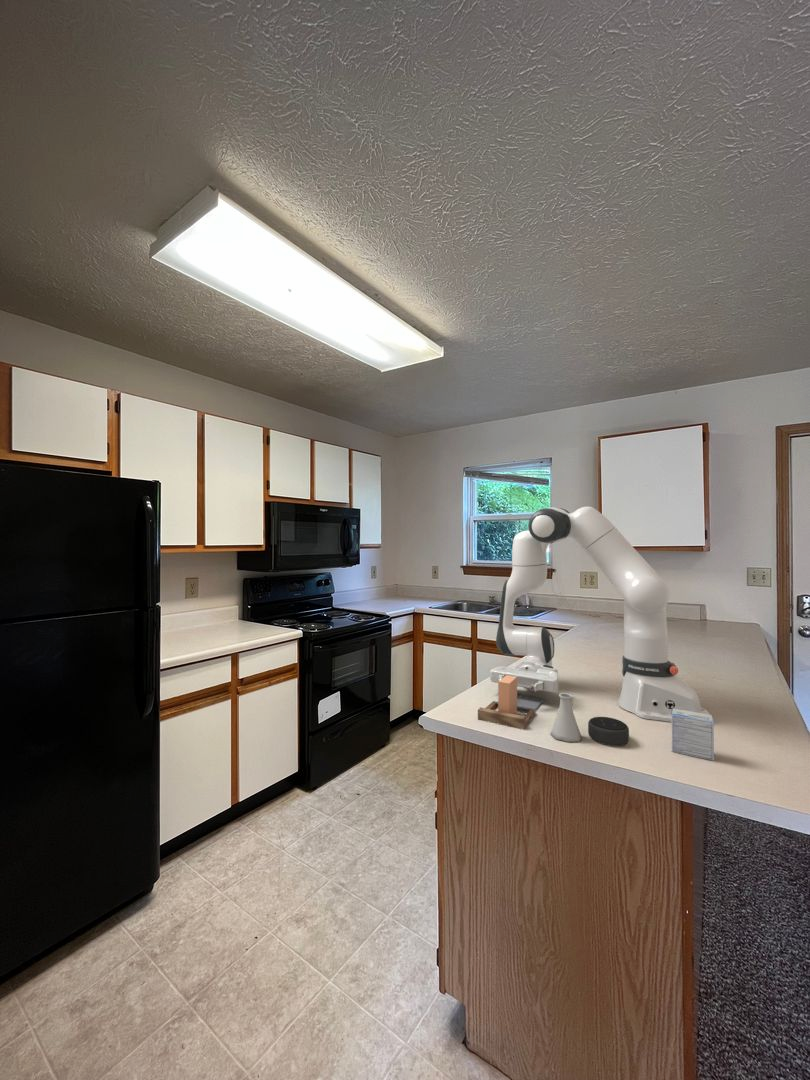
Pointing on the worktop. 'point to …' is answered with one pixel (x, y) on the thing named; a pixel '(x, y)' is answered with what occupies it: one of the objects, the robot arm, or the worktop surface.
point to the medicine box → (692, 734)
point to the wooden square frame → (506, 716)
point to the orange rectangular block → (507, 694)
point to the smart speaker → (608, 731)
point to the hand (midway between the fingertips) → (516, 685)
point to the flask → (566, 721)
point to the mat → (528, 702)
